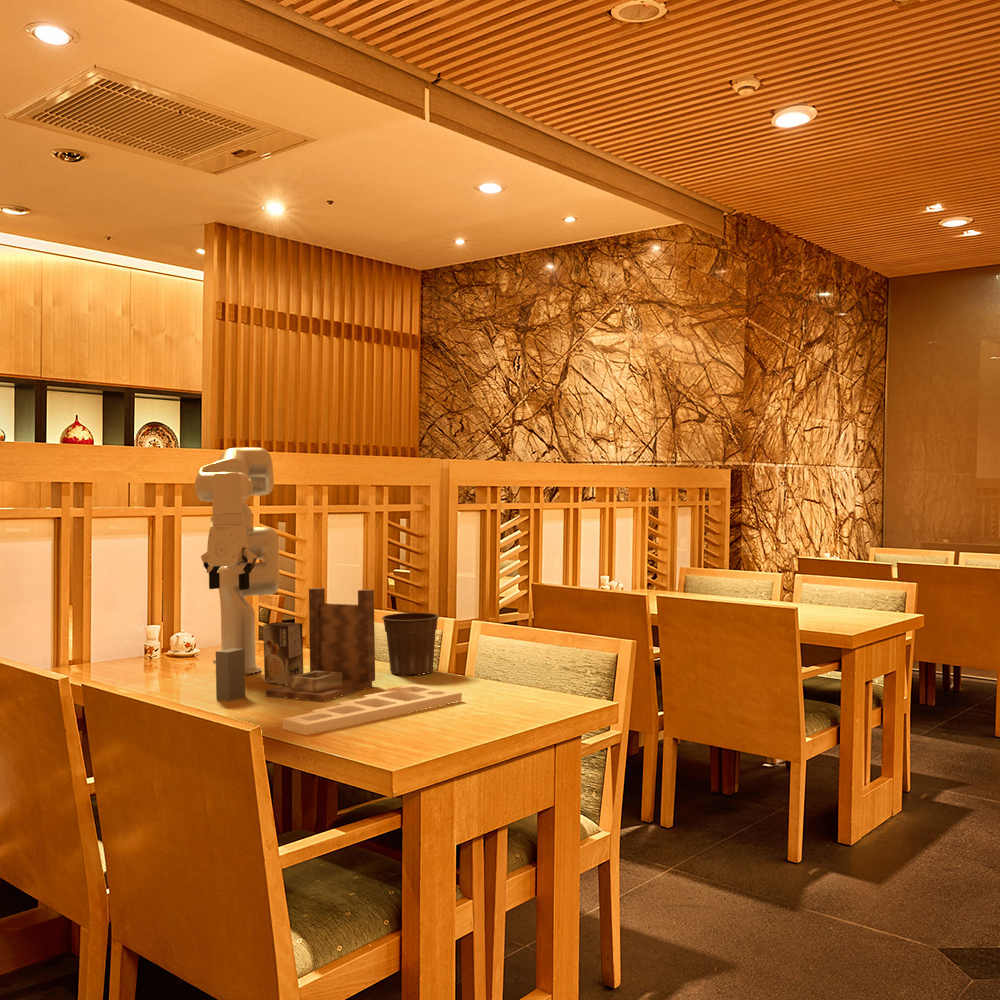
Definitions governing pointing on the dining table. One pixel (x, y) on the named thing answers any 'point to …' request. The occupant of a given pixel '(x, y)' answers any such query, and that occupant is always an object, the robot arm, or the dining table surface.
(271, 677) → the coffee box
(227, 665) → the plain rectangular block
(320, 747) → the dining table surface
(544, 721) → the dining table surface
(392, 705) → the holder
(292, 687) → the wooden display stand
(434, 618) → the plant pot
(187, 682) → the dining table surface
